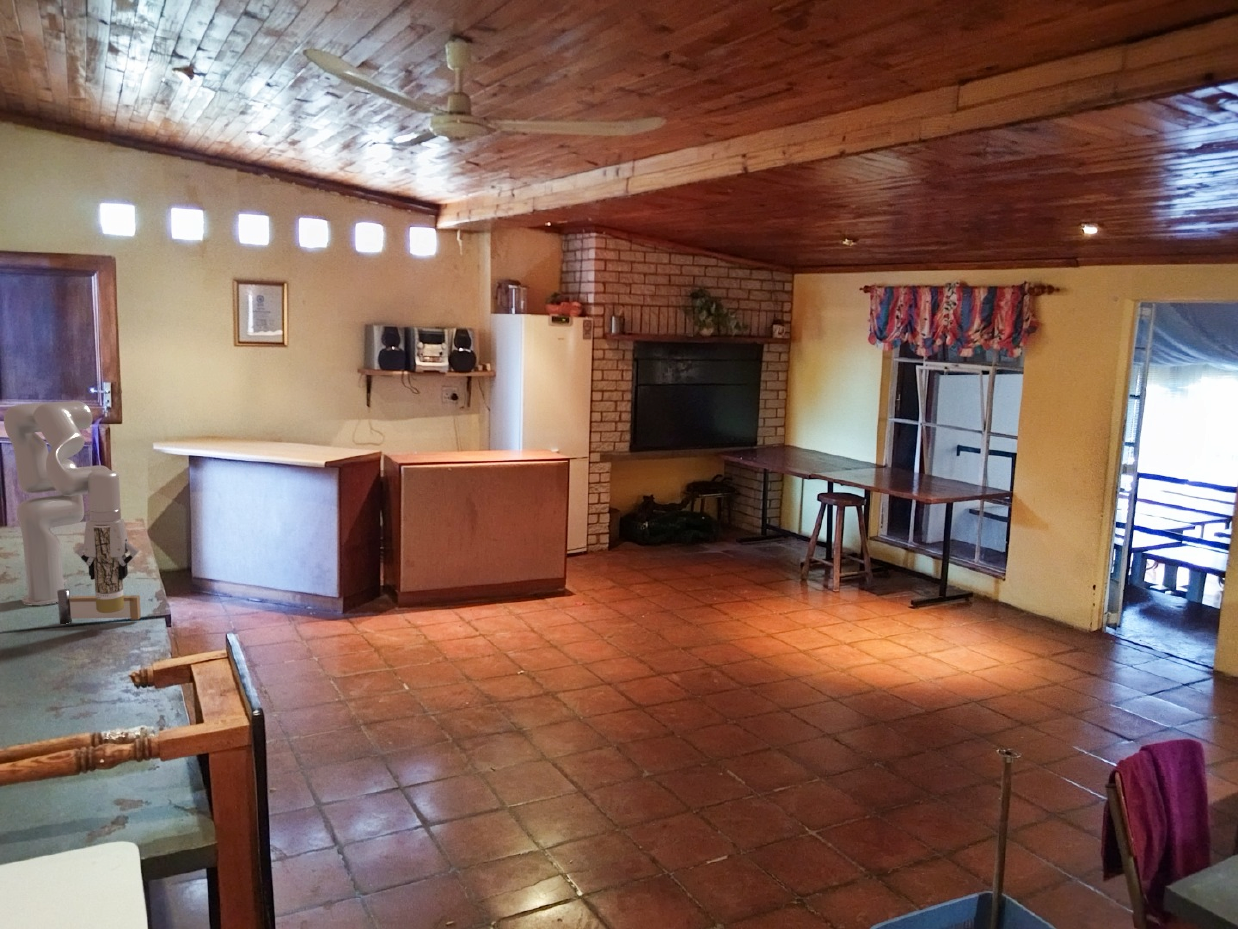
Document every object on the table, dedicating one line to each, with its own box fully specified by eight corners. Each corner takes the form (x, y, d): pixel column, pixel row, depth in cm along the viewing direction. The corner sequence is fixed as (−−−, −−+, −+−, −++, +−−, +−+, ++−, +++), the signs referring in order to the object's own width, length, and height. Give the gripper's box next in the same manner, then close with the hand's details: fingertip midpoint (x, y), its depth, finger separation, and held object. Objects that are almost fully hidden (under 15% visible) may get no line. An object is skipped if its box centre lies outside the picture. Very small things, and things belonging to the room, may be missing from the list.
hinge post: (62, 621, 264) (60, 589, 262) (73, 621, 264) (71, 589, 263) (57, 624, 261) (55, 592, 260) (69, 624, 261) (66, 592, 260)
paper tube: (115, 614, 255) (111, 526, 251) (91, 613, 255) (86, 525, 251) (129, 606, 262) (124, 520, 257) (105, 605, 262) (100, 519, 257)
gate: (74, 618, 264) (72, 596, 263) (140, 617, 266) (139, 595, 265) (70, 620, 262) (69, 598, 261) (138, 619, 264) (136, 597, 263)
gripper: (65, 518, 249) (69, 582, 252) (133, 519, 251) (136, 582, 254) (77, 511, 256) (81, 574, 259) (144, 513, 258) (146, 574, 262)
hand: (108, 577), depth 257 cm, fingers closed on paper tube, 6 cm apart
